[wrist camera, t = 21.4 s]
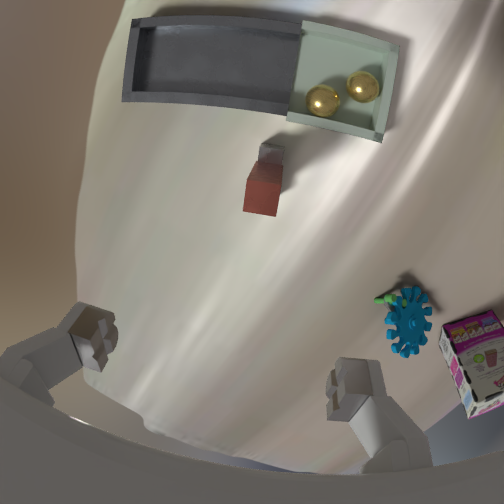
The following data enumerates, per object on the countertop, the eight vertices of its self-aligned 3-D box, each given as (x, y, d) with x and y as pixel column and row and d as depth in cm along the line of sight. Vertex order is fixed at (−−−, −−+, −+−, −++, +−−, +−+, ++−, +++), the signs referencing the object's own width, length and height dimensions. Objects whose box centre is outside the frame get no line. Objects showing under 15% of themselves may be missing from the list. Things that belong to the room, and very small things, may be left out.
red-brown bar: (260, 142, 32) (249, 160, 23) (285, 147, 32) (284, 166, 23) (253, 193, 35) (240, 228, 26) (277, 197, 35) (272, 233, 26)
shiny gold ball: (354, 68, 26) (344, 65, 24) (385, 77, 25) (378, 74, 23) (349, 98, 29) (338, 97, 26) (379, 107, 27) (371, 107, 25)
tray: (301, 26, 25) (302, 20, 22) (390, 49, 25) (399, 46, 22) (286, 119, 30) (286, 120, 28) (374, 139, 30) (381, 143, 27)
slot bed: (143, 23, 26) (132, 19, 23) (300, 30, 25) (302, 24, 23) (133, 100, 31) (121, 102, 28) (287, 114, 30) (287, 116, 28)
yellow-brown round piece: (315, 74, 25) (296, 102, 26) (347, 93, 24) (328, 122, 26) (317, 82, 28) (300, 107, 29) (346, 99, 28) (328, 125, 29)
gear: (442, 317, 39) (413, 372, 35) (414, 316, 44) (384, 366, 40) (412, 264, 37) (378, 322, 33) (382, 268, 42) (347, 320, 39)
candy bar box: (437, 345, 43) (466, 421, 29) (441, 324, 41) (475, 403, 27) (487, 329, 41) (523, 396, 27) (493, 308, 39) (534, 377, 24)
